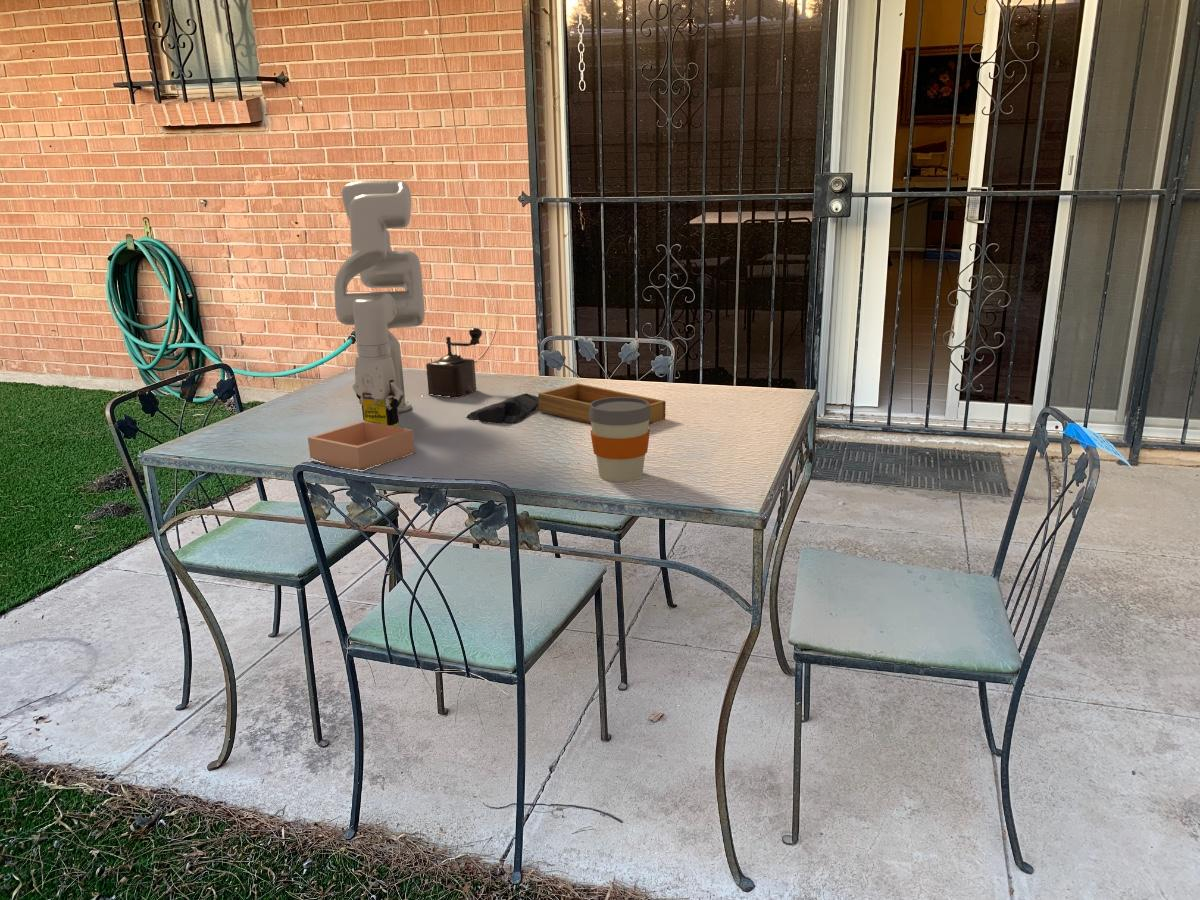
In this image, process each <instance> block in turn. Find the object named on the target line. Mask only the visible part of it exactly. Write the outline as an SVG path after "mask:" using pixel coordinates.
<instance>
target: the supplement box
mask: <svg viewBox="0 0 1200 900" xmlns="http://www.w3.org/2000/svg"><path fill="white" fill-rule="evenodd" d="M388 396H390V395H388ZM362 399H363V409H364V419H365V421H367V422H372V423H378V424H383V425H387V417H386V409H388V408H387V406H386V402H385V399H384V400H376V399H373V398H372V394H371V393H368V392H362ZM389 401H390V403H391V402H392V400H391V399H389ZM391 426H394V427H398V423H396V424H394V425H391Z"/></svg>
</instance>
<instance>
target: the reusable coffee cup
mask: <svg viewBox="0 0 1200 900" xmlns="http://www.w3.org/2000/svg"><path fill="white" fill-rule="evenodd" d="M650 418H651V413H650V404H649V402H648V401H646V400H643V399H639V398H633V397H611V398H604V399H599V400H596V401H593V402H591V403H590V411H589V419H590V420H591V423H590V424H591V425H590V426H591V430H590V437H591V442H592V443H591V444H592V450H593V453H594V455H595V457H596V463H597V464H596V465H597V469H598V476H599V477H600V479H602V480H605V481H608V482H612V483H613V482H615V483H624V482H633V481H636V480H638V479H639V480H640V478H642V477H643V474H644V465H645V459H646V458H645V457H646V454H647V453H648V452H649V451H648V449H649V443H650V442H649V441H650V434H651V431H650V428H649V425H650V424H649V419H650Z"/></svg>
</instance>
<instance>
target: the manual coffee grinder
mask: <svg viewBox="0 0 1200 900" xmlns="http://www.w3.org/2000/svg"><path fill="white" fill-rule="evenodd" d="M468 333H469V334H468V335H469V336H470V338H471V339H470V341H469V342H468V343H467V342H465V343H464V342H463V343H462V342H452V341H451V339H452V338H451V337H450V336H446V338H445V339H446V341H445V343H446V346H447V354H446V355H443V356H442V357H440V358H438V360H434V361H431V362H429V363H428V362H427V363H426V365H425V366H426V377H427V379H426V380H427V389H428V395H429V394H433V395H441V396H450V397H449V398H453V397H459V398H461V397H460V396H462V397H464V396H466V394H467V395H469V394H471V393H473V392H475V391H477V390H478V388H477V380H476V365H475V359H472V358H463V357H462V356H461V354H459V355H458V354H453V353H452V347H457V346H459V347H471V346H474V347H475V346H476V345H479V344H480V343H481V342H480V338H481V337H482V335H483V331H482V329H480V328H477V327H472V328H470V329H469V331H468ZM451 346H452V347H451ZM476 389H477V390H476ZM472 391H473V392H472ZM470 392H471V393H470ZM463 395H464V396H463ZM441 396H440V397H441Z"/></svg>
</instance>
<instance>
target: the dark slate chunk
mask: <svg viewBox="0 0 1200 900" xmlns="http://www.w3.org/2000/svg"><path fill="white" fill-rule="evenodd" d="M536 408H537V409H539V401H538V395H537V396H536V395H532V394H529V393H527V392H526V393H523V394H519V395H515V396H512V397H508V398H507V399H505V400H502V401H500V402H496V403H493V404H489V405H487V406H485V407H482V408H478V409H476V410H475V411H471V412H470V413H469V414H467V415H466V419H468V421H475V420H479V421H478V422H481V421H482V423H488V422H490V423H491V424H512V423H513V424H517V423H518V422H519V421H521V420H523V419H524V418H526V417H528V416H527V415H530V414H531V413H532V411H533V412H534V411H535V410H537V409H536ZM530 412H531V413H530ZM525 416H526V417H525ZM522 418H523V419H522ZM520 419H521V420H520ZM490 423H489V424H490Z"/></svg>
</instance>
